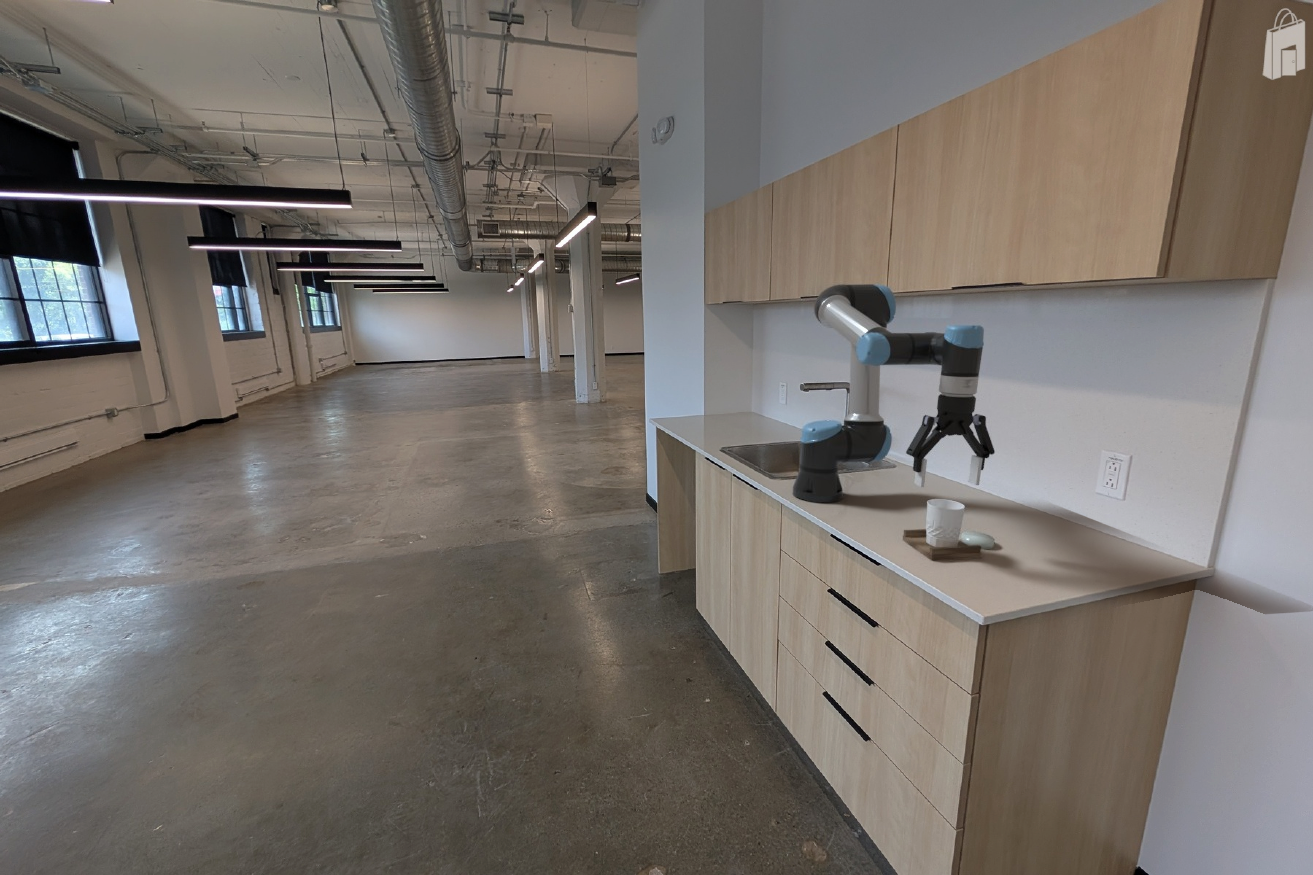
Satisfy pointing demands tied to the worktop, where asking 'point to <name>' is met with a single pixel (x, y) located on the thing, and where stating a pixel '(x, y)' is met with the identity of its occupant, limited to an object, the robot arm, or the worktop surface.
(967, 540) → the pale mint domed disc
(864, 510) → the worktop surface
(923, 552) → the stand
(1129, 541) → the worktop surface
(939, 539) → the white cup
